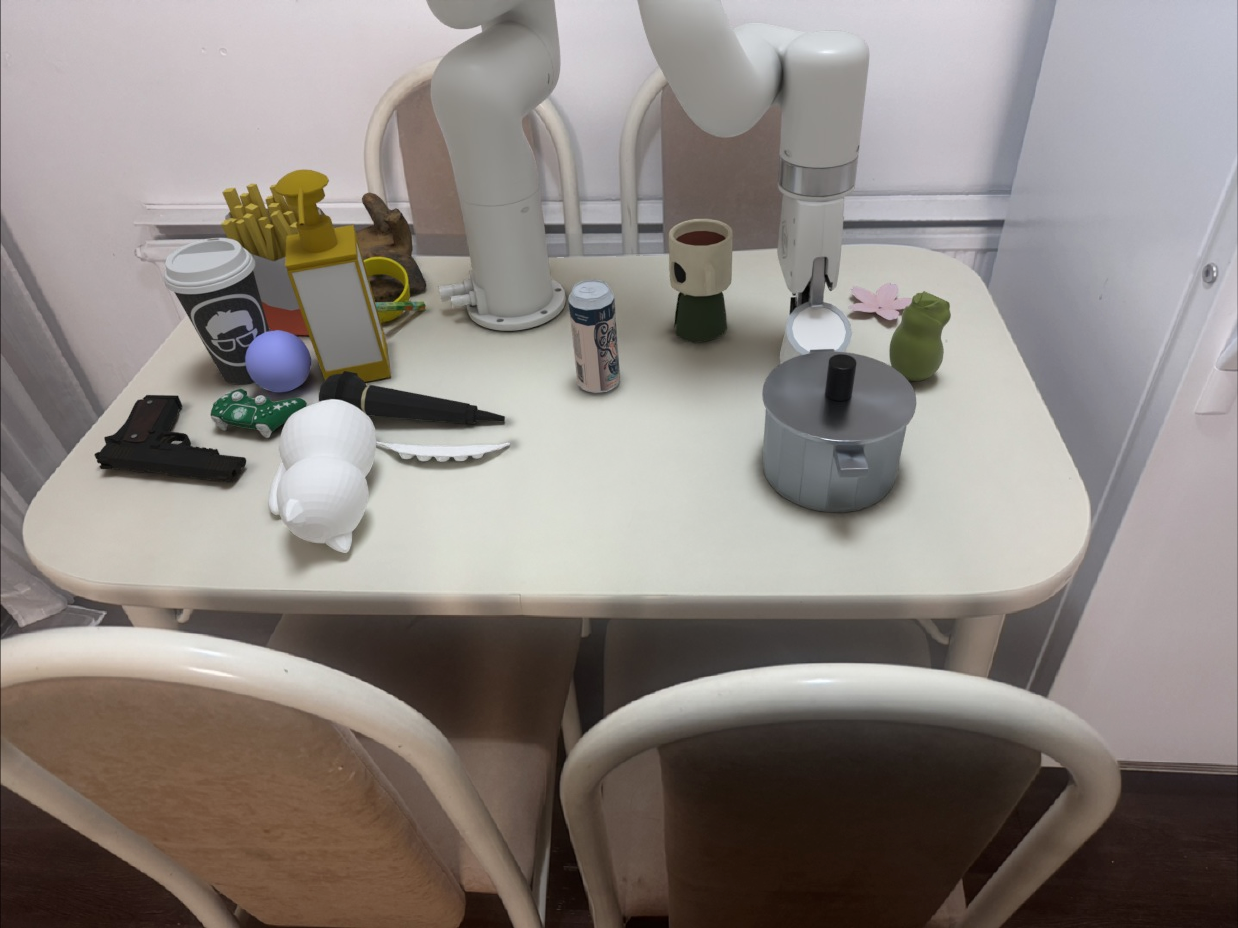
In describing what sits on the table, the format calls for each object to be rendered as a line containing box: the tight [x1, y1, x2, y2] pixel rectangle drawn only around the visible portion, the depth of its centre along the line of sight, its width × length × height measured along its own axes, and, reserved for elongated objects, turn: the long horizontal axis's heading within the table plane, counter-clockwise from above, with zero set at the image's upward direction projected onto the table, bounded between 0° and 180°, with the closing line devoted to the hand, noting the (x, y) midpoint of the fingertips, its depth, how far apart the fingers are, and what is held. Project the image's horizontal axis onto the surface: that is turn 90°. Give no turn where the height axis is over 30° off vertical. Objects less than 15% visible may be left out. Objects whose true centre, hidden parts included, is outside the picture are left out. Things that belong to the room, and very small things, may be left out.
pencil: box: [375, 301, 427, 312], centre depth 103 cm, size 1×1×18 cm
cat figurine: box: [267, 399, 377, 554], centre depth 82 cm, size 9×12×15 cm
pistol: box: [93, 394, 247, 484], centre depth 92 cm, size 2×18×12 cm
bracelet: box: [364, 257, 411, 324], centre depth 110 cm, size 7×8×3 cm
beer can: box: [567, 279, 621, 394], centre depth 93 cm, size 5×5×12 cm
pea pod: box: [376, 440, 511, 463], centre depth 89 cm, size 15×4×2 cm, turn 87°
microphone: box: [318, 371, 506, 425], centre depth 93 cm, size 6×6×20 cm
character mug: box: [668, 218, 734, 344], centre depth 99 cm, size 11×7×13 cm, turn 8°
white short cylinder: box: [778, 301, 853, 365], centre depth 93 cm, size 7×7×7 cm
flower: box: [847, 282, 913, 321], centre depth 105 cm, size 10×10×2 cm
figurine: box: [317, 192, 427, 302], centre depth 118 cm, size 13×8×20 cm
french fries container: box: [220, 183, 321, 336], centre depth 104 cm, size 5×11×18 cm, turn 83°
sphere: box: [245, 330, 312, 393], centre depth 98 cm, size 7×7×7 cm
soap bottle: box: [274, 169, 392, 383], centre depth 92 cm, size 7×13×24 cm, turn 15°
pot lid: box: [761, 351, 917, 445], centre depth 78 cm, size 14×14×5 cm
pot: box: [762, 349, 908, 514], centre depth 82 cm, size 13×18×8 cm
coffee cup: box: [163, 237, 270, 385], centre depth 99 cm, size 10×10×15 cm
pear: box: [889, 290, 952, 382], centre depth 91 cm, size 6×5×10 cm
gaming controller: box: [210, 388, 308, 439], centre depth 94 cm, size 9×4×6 cm
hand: (803, 330), depth 97 cm, fingers closed
